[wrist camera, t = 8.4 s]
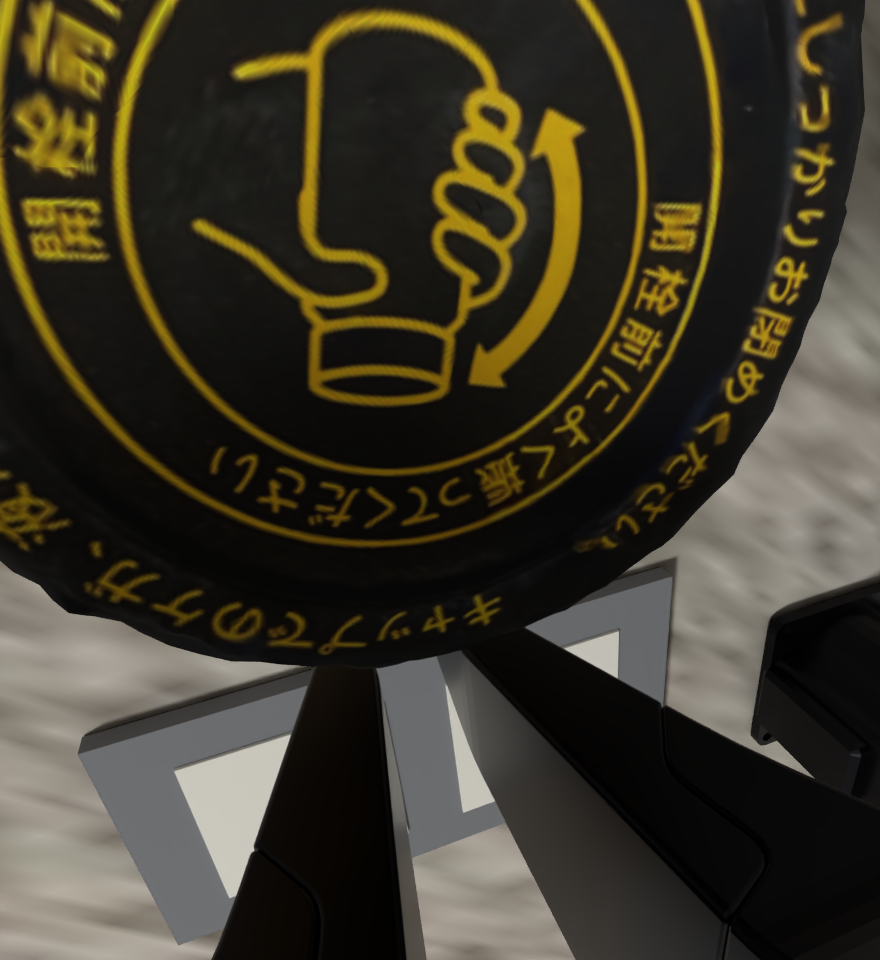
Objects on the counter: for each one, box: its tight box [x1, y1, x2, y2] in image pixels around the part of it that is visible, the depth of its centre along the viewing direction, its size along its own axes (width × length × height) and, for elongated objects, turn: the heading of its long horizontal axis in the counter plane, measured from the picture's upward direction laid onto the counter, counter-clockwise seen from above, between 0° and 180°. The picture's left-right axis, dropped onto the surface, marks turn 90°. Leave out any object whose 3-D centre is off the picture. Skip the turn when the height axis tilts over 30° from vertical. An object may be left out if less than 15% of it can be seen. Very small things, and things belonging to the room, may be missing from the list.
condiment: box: [0, 0, 865, 669], centre depth 8 cm, size 7×8×12 cm
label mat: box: [78, 567, 673, 945], centre depth 21 cm, size 18×9×1 cm, turn 96°
